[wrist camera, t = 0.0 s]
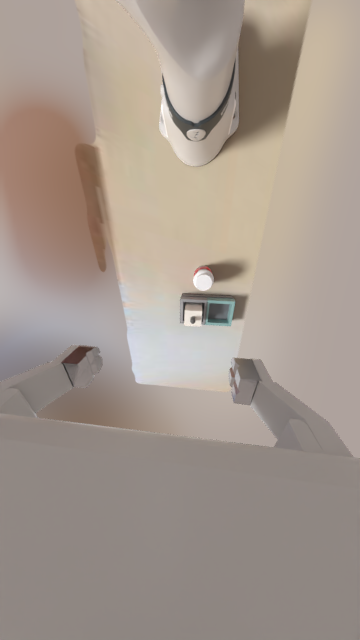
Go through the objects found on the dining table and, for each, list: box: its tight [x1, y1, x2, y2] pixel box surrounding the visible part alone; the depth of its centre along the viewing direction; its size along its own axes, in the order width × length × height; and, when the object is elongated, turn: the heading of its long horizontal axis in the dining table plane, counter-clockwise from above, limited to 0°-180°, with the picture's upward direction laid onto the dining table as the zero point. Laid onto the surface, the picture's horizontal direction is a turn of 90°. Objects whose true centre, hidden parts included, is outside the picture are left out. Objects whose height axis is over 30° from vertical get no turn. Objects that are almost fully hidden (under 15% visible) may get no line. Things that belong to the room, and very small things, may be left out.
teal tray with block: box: [180, 294, 235, 327], centre depth 54 cm, size 10×18×12 cm, turn 89°
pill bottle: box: [193, 266, 214, 291], centre depth 49 cm, size 6×6×11 cm
